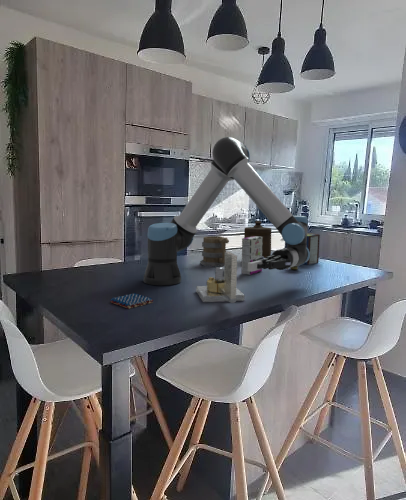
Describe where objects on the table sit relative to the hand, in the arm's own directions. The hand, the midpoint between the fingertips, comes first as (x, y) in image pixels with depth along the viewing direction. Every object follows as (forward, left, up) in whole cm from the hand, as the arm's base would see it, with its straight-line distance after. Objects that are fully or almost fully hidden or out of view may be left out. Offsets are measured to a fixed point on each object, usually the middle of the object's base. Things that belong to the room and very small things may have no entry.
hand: (249, 267), depth 120 cm
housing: (-8, +10, -12) cm, 17 cm away
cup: (+39, +53, -12) cm, 67 cm away
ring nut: (-8, +3, -10) cm, 13 cm away
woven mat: (-38, +6, -13) cm, 40 cm away
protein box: (+52, +73, -12) cm, 91 cm away
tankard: (+4, +68, -12) cm, 69 cm away
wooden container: (+29, +79, -12) cm, 85 cm away
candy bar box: (+16, +48, -12) cm, 52 cm away
